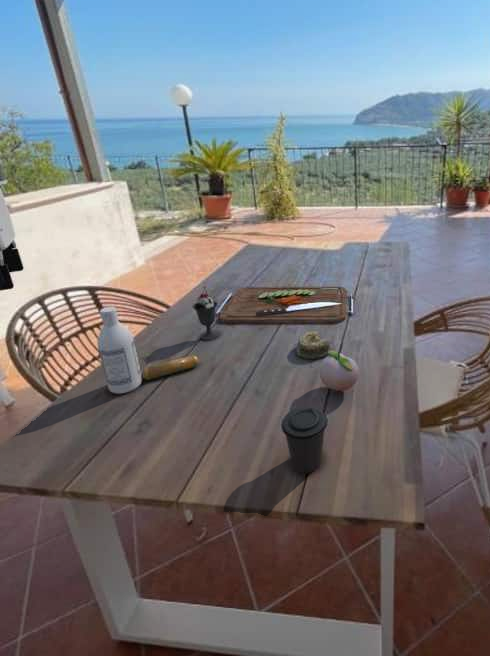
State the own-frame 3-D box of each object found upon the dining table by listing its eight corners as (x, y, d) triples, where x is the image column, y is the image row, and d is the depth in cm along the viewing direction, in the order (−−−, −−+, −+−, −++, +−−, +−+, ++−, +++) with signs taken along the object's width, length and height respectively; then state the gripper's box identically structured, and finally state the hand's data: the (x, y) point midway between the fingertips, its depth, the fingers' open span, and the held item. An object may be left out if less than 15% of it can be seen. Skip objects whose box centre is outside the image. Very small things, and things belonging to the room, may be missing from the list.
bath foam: (127, 374, 96) (109, 300, 89) (149, 379, 94) (133, 304, 87) (101, 391, 90) (80, 313, 83) (125, 397, 88) (105, 318, 81)
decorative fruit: (311, 390, 91) (310, 353, 87) (336, 374, 96) (335, 339, 93) (340, 408, 85) (340, 369, 81) (365, 390, 91) (365, 353, 87)
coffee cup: (327, 442, 76) (325, 400, 72) (330, 476, 68) (329, 431, 65) (284, 447, 74) (281, 404, 71) (283, 482, 67) (279, 436, 63)
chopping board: (353, 289, 147) (353, 282, 146) (353, 322, 122) (353, 314, 121) (234, 290, 146) (233, 282, 145) (209, 323, 121) (208, 314, 120)
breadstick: (143, 384, 92) (140, 373, 91) (142, 377, 95) (139, 367, 94) (200, 367, 99) (199, 357, 98) (198, 361, 101) (196, 351, 100)
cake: (312, 365, 101) (310, 348, 99) (289, 351, 107) (286, 335, 105) (340, 348, 107) (338, 332, 105) (316, 336, 114) (314, 320, 112)
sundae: (216, 328, 118) (210, 282, 113) (224, 336, 114) (218, 289, 108) (194, 335, 114) (186, 288, 109) (202, 344, 110) (194, 295, 104)
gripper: (-45, 171, 64) (-11, 269, 70) (-85, 183, 50) (-39, 303, 56) (14, 169, 68) (41, 262, 74) (-8, 180, 54) (27, 293, 60)
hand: (7, 280), depth 65 cm, fingers open, 9 cm apart
